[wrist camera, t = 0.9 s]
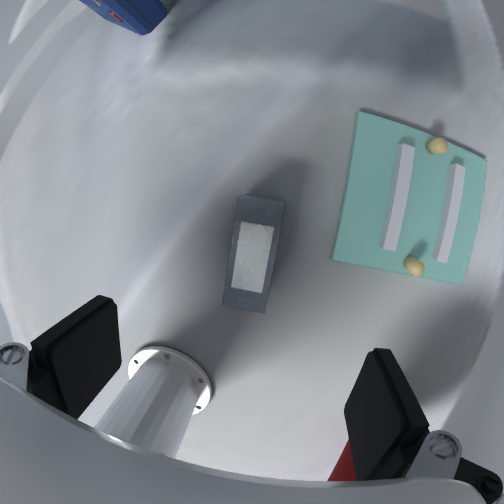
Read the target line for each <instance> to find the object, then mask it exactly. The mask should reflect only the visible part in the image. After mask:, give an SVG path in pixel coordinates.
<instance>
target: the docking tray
mask: <svg viewBox="0 0 504 504" xmlns="http://www.w3.org/2000/svg"><path fill="white" fill-rule="evenodd" d="M486 167H487V160H485V159H483V158H481V157H479V156H477V155H475V154H473V153H471V152H469V151H467V150H465V149H463V148H461V147H458V146H456V145H454V144H452V143H449V142H447V141H446V140H445V139H444V138H442V137H440V138H438V137H435V136H433V135H430V134H428V133H425V132H422V131H420V130H417V129H414V128H412V127H409V126H406V125H403V124H400V123H397V122H394V121H391V120H388V119H385V118H382V117H378V116H375V115H372V114H368V113H365V112H361V111H358V112H357V115H356V123H355V130H354V138H353V145H352V151H351V158H350V164H349V170H348V176H347V182H346V187H345V193H344V198H343V203H342V208H341V213H340V218H339V223H338V228H337V233H336V237H335V242H334V246H333V250H332V255H331V259H332V260H334V261H340V262H345V263H350V264H355V265H361V266H366V267H371V268H376V269H381V270H387V271H392V272H397V273H402V274H407V275H412V276H417V277H422V278H427V279H432V280H438V281H443V282H448V283H453V284H458V285H462V282H463V279H464V276H465V273H466V269H467V266H468V262H469V259H470V255H471V251H472V248H473V244H474V239H475V235H476V231H477V226H478V221H479V216H480V211H481V205H482V199H483V192H484V185H485V177H486Z"/></svg>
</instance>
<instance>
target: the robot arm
mask: <svg viewBox="0 0 504 504" xmlns="http://www.w3.org/2000/svg"><path fill="white" fill-rule="evenodd" d="M30 343H31V346H32V350H30V351H29V350H28V348H27V347H26V346H25V345H23V344H20V343H15V342H12V343H7V344H4V345H2V346H0V504H504V493H502V491H503V484H502V481H501V479H500V477H499V476H498V475H497V474H495V473H493V472H492V471H489V470H487V469H485V468H483V467H481V466H478V465H476V464H474V463H472V462H470V461H468V460H466V459H464V458H462V457H461V454H462V446H461V443H460V441H459V440H458V439H457V438H456V437H455V436H454V435H453V434H451V433H449V432H447V431H443V430H437V431H432V432H431V433H430V431H429V429H428V427H429V423H428V421H427V419H426V417H425V415H424V413H423V411H422V409H421V407H420V405H419V403H418V401H417V399H416V397H415V395H414V393H413V391H412V389H411V387H410V385H409V383H408V381H407V379H406V377H405V376H404V374H403V372H402V370H401V368H400V366H399V364H398V363H397V361H396V359H395V357H394V355H393V354H392V352H391V350H390V349H382V348H375V349H374V350H373V351H372V352H371V351H370V352H369V353H368V354H367V356H366V359H365V361H364V364H363V366H362V369H361V371H360V373H359V376H358V378H357V380H356V383H355V385H354V387H353V389H352V391H351V394H350V396H349V398H348V400H347V402H346V404H345V408H344V415H345V420H346V425H347V430H348V436H349V441H350V446H351V452H352V458H353V463H354V469H355V476H356V481H298V480H285V479H274V478H265V477H258V476H251V475H244V474H238V473H233V472H227V471H222V470H217V469H213V468H208V467H204V466H200V465H196V464H192V463H188V462H184V461H181V460H177V459H175V457H176V454H177V452H178V449H179V447H180V444H181V442H182V439H183V437H184V434H185V432H186V429H187V427H188V424H189V422H190V419H191V417H192V415H193V414H196V413H199V412H201V411H202V410H203V409H205V408H206V407H207V405H208V403H209V401H210V399H211V395H212V387H211V383H210V380H209V378H208V376H207V374H206V373H205V371H204V370H203V369H202V368H201V367H200V365H199V364H197V363H196V362H195V361H194V360H193V359H191V358H190V357H188V356H187V355H185V354H183V353H181V352H179V351H177V350H174V349H171V348H168V347H162V346H150V347H145V348H143V349H141V350H139V351H138V352H137V353H136V354H135V355H134V356H133V357H132V359H131V361H130V363H129V368H128V371H129V377H130V380H129V381H128V383H127V384H126V385H125V387H124V388H123V389H122V391H121V392H120V393H119V395H118V396H117V397H116V399H115V400H114V401H113V403H112V404H111V405H110V407H109V408H108V410H107V411H106V412H105V414H104V415H103V416H102V418H101V419H100V420H99V422H98V423H97V425H96V426H95V427H94V428H93V427H91V426H89V425H87V424H85V423H83V422H81V421H79V420H77V419H78V418H79V417H80V416H81V414H82V413H83V412H84V411H85V409H86V408H87V407H88V406H89V405H90V403H91V402H92V401H93V400H94V398H95V397H96V396H97V395H98V394H99V392H100V391H101V390H102V389H103V387H104V386H105V385H106V384H107V383H108V381H109V380H110V379H111V378H112V377H113V375H114V374H115V373H116V372H117V371H118V369H119V368H120V366H121V362H122V359H121V350H120V340H119V328H118V313H117V305H116V304H115V303H114V301H113V299H112V298H108V297H105V296H102V295H98V296H96V297H95V298H93V299H92V300H90V301H89V302H87V303H86V304H84V305H83V306H81V307H80V308H78V309H77V310H75V311H74V312H73V313H71V314H70V315H68V316H67V317H65V318H64V319H62V320H61V321H60V322H58V323H57V324H55V325H54V326H53V327H51V328H50V329H48V330H47V331H46V332H44V333H43V334H41V335H40V336H39V337H37V338H36V339H35V340H33V341H32V342H30Z"/></svg>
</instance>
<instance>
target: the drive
mask: <svg viewBox="0 0 504 504" xmlns="http://www.w3.org/2000/svg"><path fill="white" fill-rule="evenodd" d="M284 209H285V201H282V200H277V199H271V198H266V197H260V196H254V195H248V194H246V195H243V196H240V197H238V201H237V207H236V214H235V220H234V227H233V233H232V240H231V247H230V253H229V260H228V267H227V274H226V281H225V288H224V296H223V303H222V305H224V306H229V307H234V308H239V309H244V310H249V311H254V312H259V313H265V308H266V304H267V299H268V294H269V289H270V284H271V278H272V273H273V268H274V263H275V258H276V253H277V247H278V242H279V237H280V231H281V226H282V220H283V215H284Z"/></svg>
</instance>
